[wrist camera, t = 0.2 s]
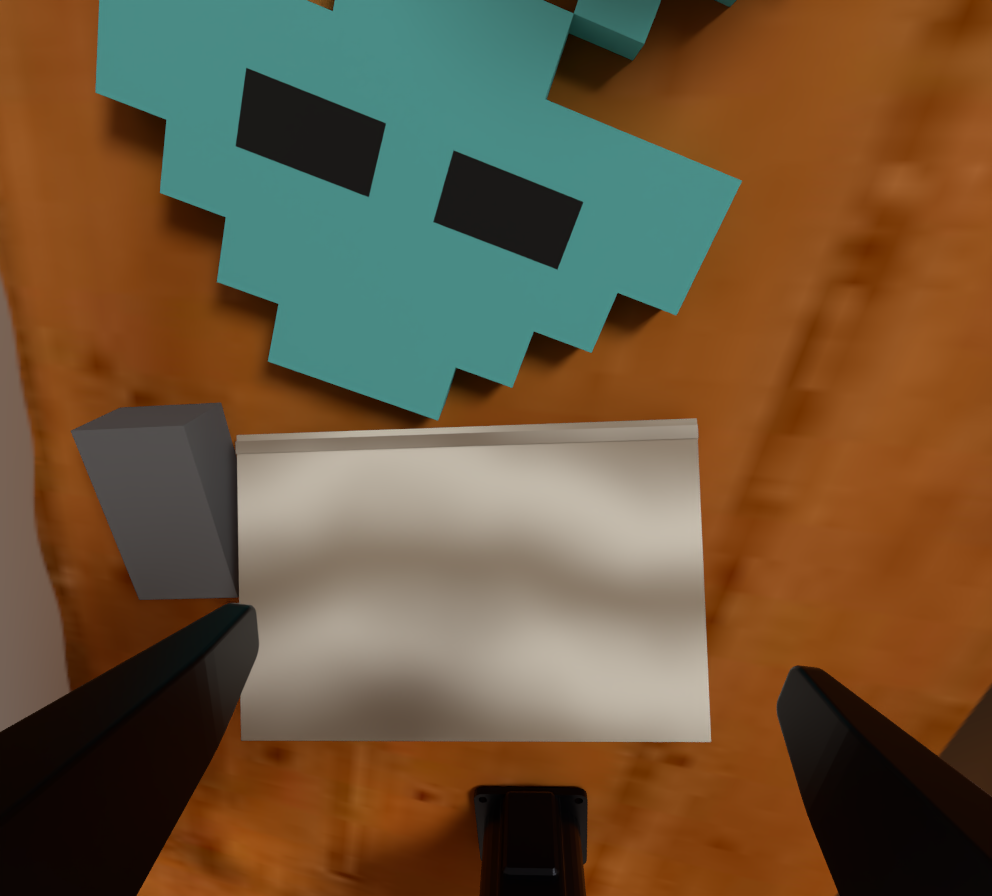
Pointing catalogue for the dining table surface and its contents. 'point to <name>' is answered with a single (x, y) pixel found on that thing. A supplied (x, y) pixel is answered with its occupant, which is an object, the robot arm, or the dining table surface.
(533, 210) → the alien figure
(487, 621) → the white flat slab
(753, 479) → the dining table surface
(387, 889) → the dining table surface
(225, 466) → the block
